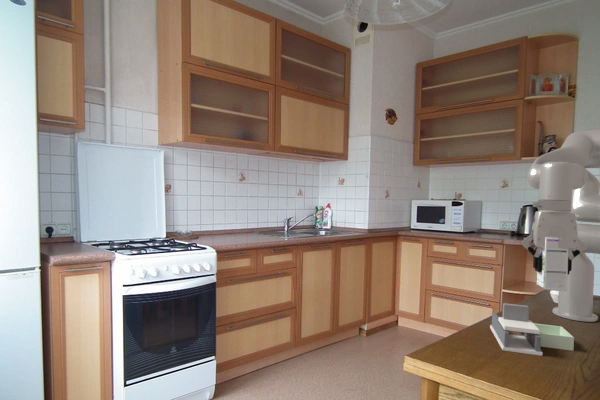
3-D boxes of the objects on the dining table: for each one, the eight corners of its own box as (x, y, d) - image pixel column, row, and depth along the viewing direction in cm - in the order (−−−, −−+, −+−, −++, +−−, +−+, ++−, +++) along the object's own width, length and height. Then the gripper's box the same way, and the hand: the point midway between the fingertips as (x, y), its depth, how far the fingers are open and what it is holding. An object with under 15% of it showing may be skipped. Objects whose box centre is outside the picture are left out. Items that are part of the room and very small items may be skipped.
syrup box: (567, 291, 101) (570, 237, 101) (543, 289, 103) (545, 236, 102) (558, 286, 107) (560, 235, 107) (534, 285, 108) (537, 234, 108)
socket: (526, 334, 111) (526, 322, 111) (561, 338, 108) (561, 326, 108) (535, 345, 102) (535, 332, 102) (573, 350, 100) (574, 337, 100)
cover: (498, 320, 107) (499, 302, 107) (530, 324, 105) (531, 306, 104) (504, 329, 99) (505, 310, 99) (539, 334, 97) (540, 314, 97)
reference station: (490, 327, 116) (490, 312, 115) (523, 331, 113) (524, 316, 113) (502, 350, 98) (503, 332, 98) (542, 355, 96) (543, 337, 96)
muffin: (562, 305, 143) (563, 287, 142) (546, 301, 148) (546, 283, 148) (572, 304, 145) (573, 285, 145) (555, 299, 151) (556, 282, 151)
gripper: (522, 205, 103) (519, 271, 104) (598, 208, 98) (594, 278, 99) (516, 205, 111) (513, 267, 111) (585, 208, 105) (582, 272, 106)
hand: (551, 271), depth 105 cm, fingers closed on syrup box, 6 cm apart
